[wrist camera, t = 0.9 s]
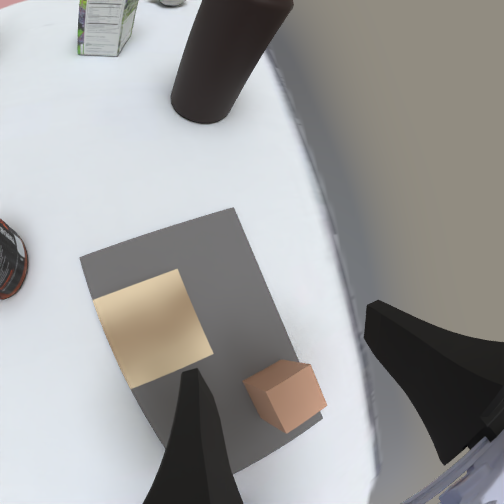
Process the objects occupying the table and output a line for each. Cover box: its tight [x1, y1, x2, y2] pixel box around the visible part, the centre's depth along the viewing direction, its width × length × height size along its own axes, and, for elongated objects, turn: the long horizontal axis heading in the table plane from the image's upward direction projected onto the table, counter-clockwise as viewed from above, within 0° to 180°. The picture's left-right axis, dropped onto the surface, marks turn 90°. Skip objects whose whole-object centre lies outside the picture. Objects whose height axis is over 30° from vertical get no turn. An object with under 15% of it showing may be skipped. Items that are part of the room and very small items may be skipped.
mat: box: [80, 207, 323, 474], centre depth 21 cm, size 22×14×1 cm, turn 25°
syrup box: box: [78, 0, 139, 56], centre depth 18 cm, size 6×6×14 cm
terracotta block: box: [243, 359, 327, 434], centre depth 20 cm, size 4×4×4 cm
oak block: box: [93, 269, 214, 389], centre depth 18 cm, size 6×6×4 cm
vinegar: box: [171, 0, 294, 123], centre depth 18 cm, size 7×7×20 cm
